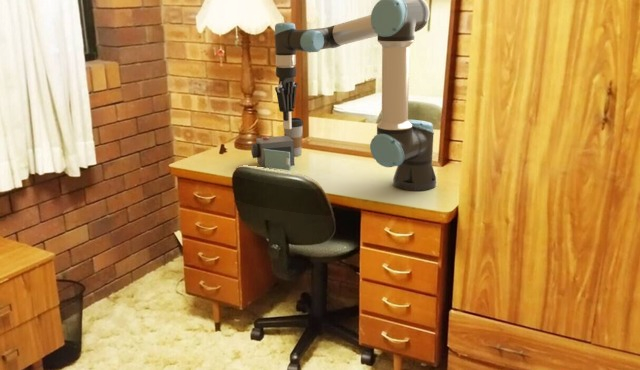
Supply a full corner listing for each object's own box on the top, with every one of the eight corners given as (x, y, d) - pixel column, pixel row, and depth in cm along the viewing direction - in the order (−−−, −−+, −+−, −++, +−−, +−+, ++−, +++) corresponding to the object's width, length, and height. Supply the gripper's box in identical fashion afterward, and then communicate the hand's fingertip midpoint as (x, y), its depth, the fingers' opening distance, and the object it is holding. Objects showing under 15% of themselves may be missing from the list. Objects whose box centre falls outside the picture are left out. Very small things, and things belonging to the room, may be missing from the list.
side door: (261, 167, 243) (260, 149, 241) (263, 166, 245) (262, 148, 242) (288, 171, 238) (288, 152, 236) (290, 169, 239) (290, 151, 237)
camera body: (294, 165, 248) (293, 138, 245) (255, 169, 244) (254, 142, 240) (288, 159, 257) (287, 133, 253) (250, 163, 252) (249, 136, 249)
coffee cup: (281, 153, 265) (280, 118, 260) (299, 151, 268) (298, 116, 264) (288, 158, 258) (287, 122, 253) (306, 155, 261) (306, 120, 256)
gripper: (286, 63, 238) (287, 124, 246) (267, 67, 227) (270, 131, 235) (303, 64, 235) (304, 125, 242) (285, 68, 224) (287, 133, 231)
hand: (287, 128), depth 239 cm, fingers closed
